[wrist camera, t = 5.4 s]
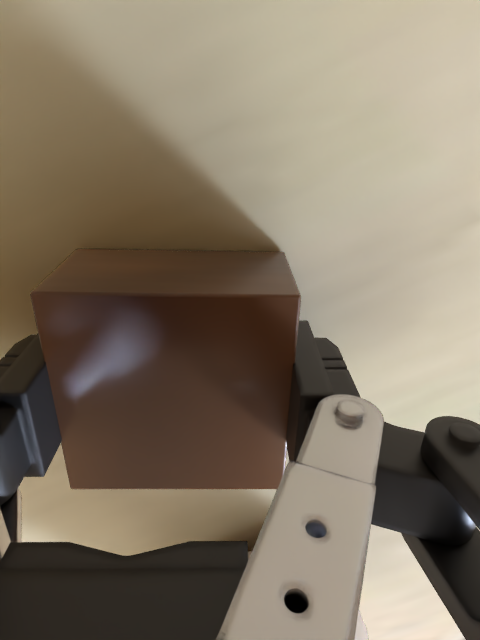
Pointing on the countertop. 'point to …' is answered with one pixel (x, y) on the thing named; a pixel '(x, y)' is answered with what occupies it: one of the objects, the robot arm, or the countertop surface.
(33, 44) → the countertop surface
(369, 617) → the countertop surface
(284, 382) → the walnut block
